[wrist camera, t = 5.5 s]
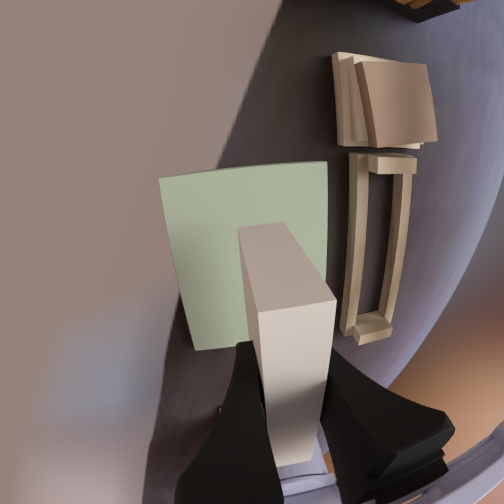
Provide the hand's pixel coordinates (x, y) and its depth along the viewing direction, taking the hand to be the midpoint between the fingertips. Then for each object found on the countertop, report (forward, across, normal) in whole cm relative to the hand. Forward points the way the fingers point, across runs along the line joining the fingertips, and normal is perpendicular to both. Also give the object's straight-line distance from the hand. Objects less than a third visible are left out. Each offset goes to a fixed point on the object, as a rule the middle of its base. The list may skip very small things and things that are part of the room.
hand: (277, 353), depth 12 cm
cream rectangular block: (+3, 0, 0) cm, 3 cm away
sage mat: (+8, 0, 0) cm, 8 cm away
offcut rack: (+9, -9, -3) cm, 13 cm away
